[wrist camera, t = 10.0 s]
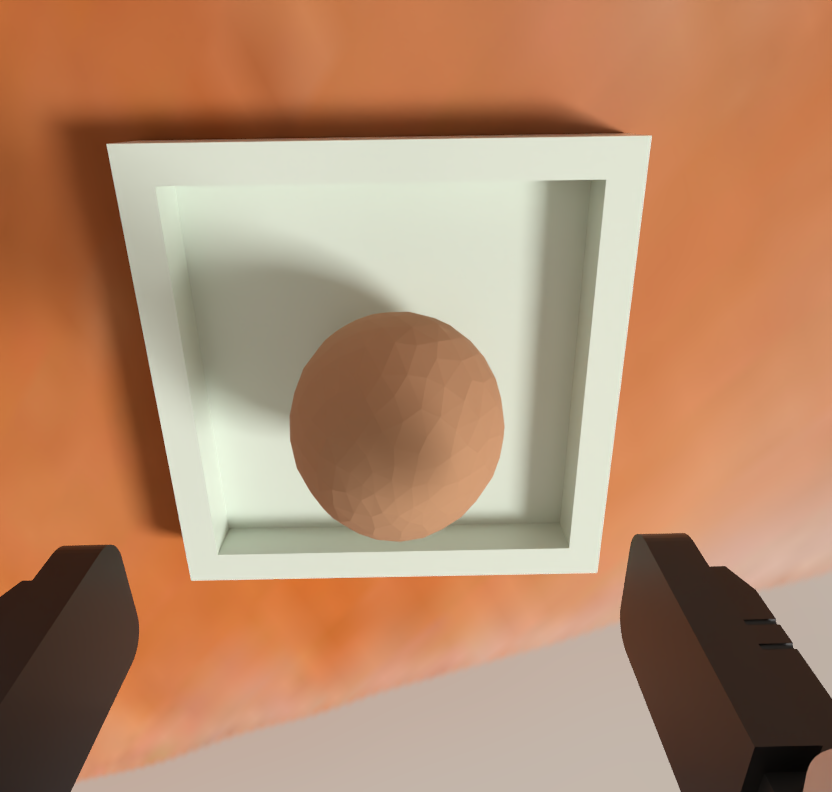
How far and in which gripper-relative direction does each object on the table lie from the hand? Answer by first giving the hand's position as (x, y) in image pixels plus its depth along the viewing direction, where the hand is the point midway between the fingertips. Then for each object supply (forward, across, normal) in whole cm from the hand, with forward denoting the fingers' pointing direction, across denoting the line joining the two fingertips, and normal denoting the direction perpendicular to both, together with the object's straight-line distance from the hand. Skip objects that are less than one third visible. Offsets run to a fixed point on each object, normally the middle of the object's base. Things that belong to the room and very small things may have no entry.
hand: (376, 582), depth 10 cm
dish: (+11, 0, +1) cm, 11 cm away
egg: (+10, 0, +1) cm, 10 cm away
